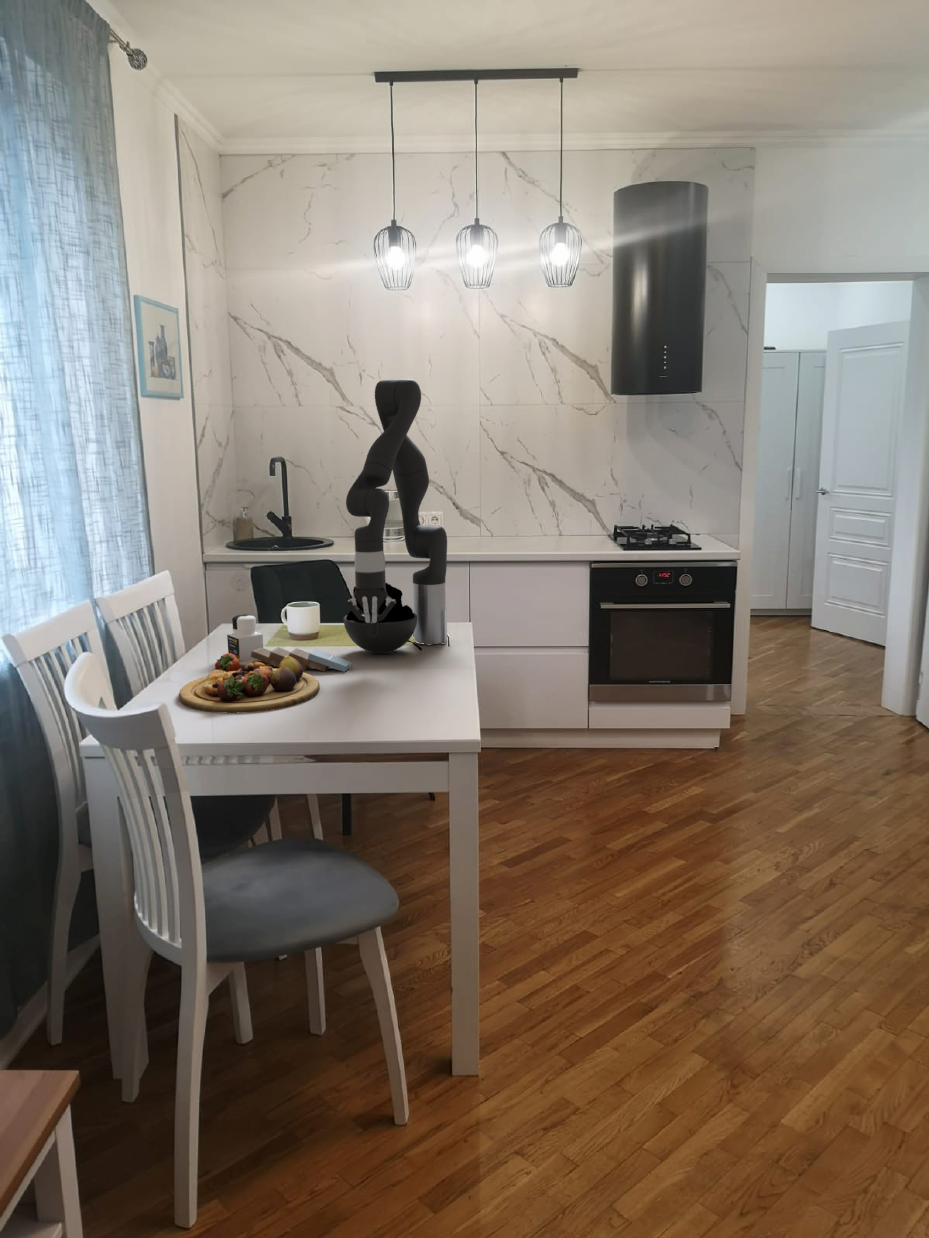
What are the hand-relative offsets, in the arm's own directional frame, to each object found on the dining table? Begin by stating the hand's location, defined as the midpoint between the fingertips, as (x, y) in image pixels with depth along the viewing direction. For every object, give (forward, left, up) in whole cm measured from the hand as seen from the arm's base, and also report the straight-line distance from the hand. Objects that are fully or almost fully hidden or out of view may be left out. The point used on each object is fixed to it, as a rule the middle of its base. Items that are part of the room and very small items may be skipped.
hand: (372, 636), depth 243 cm
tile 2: (+12, +1, -8) cm, 14 cm away
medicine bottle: (+36, -10, -9) cm, 38 cm away
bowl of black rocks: (+1, -19, -9) cm, 21 cm away
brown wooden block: (+26, 0, -8) cm, 27 cm away
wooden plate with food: (+25, +23, -9) cm, 35 cm away
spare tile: (+6, +1, -8) cm, 10 cm away
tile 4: (+22, -1, -8) cm, 23 cm away
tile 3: (+17, 0, -8) cm, 18 cm away
